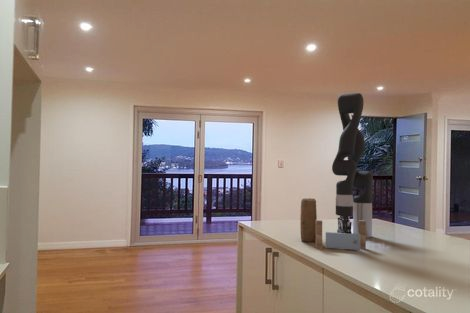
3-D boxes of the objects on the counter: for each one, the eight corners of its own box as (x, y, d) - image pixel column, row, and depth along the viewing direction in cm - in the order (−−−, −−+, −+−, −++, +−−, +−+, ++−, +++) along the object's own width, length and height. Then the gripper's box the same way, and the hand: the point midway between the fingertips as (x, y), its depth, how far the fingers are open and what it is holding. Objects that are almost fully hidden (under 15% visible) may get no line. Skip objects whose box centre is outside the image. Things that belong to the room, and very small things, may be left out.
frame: (315, 247, 170) (315, 220, 170) (363, 247, 170) (363, 220, 171) (316, 248, 168) (316, 220, 168) (365, 248, 168) (365, 221, 168)
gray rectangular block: (337, 243, 175) (337, 229, 175) (348, 243, 175) (348, 229, 175) (340, 245, 170) (340, 231, 170) (351, 245, 170) (351, 231, 170)
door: (325, 246, 169) (325, 231, 169) (360, 249, 165) (360, 234, 165) (325, 248, 167) (325, 232, 167) (360, 250, 162) (360, 235, 162)
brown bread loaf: (317, 242, 180) (317, 199, 180) (300, 242, 181) (300, 199, 181) (315, 238, 191) (315, 197, 191) (300, 237, 192) (300, 197, 192)
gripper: (357, 206, 165) (357, 246, 165) (348, 202, 180) (348, 239, 180) (340, 206, 165) (340, 246, 165) (331, 202, 180) (331, 239, 180)
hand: (344, 242), depth 173 cm, fingers closed on gray rectangular block, 5 cm apart
